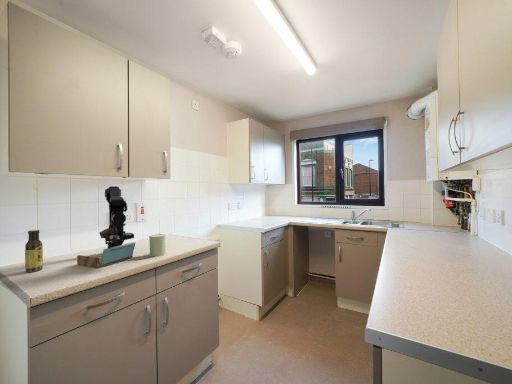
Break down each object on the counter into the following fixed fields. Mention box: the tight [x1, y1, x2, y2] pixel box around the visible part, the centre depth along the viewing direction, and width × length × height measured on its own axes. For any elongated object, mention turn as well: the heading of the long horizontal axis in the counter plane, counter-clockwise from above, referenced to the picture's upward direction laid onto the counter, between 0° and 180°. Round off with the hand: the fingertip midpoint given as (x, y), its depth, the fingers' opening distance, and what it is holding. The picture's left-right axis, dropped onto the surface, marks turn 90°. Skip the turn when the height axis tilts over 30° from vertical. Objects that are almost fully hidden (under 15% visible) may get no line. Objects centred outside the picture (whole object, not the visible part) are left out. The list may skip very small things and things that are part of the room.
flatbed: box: [76, 254, 134, 269], centre depth 126 cm, size 16×20×5 cm
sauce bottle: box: [24, 229, 44, 273], centre depth 113 cm, size 6×6×20 cm
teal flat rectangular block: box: [100, 241, 136, 265], centre depth 122 cm, size 2×17×8 cm, turn 158°
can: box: [148, 233, 167, 257], centre depth 138 cm, size 9×9×12 cm
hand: (117, 251), depth 123 cm, fingers closed
